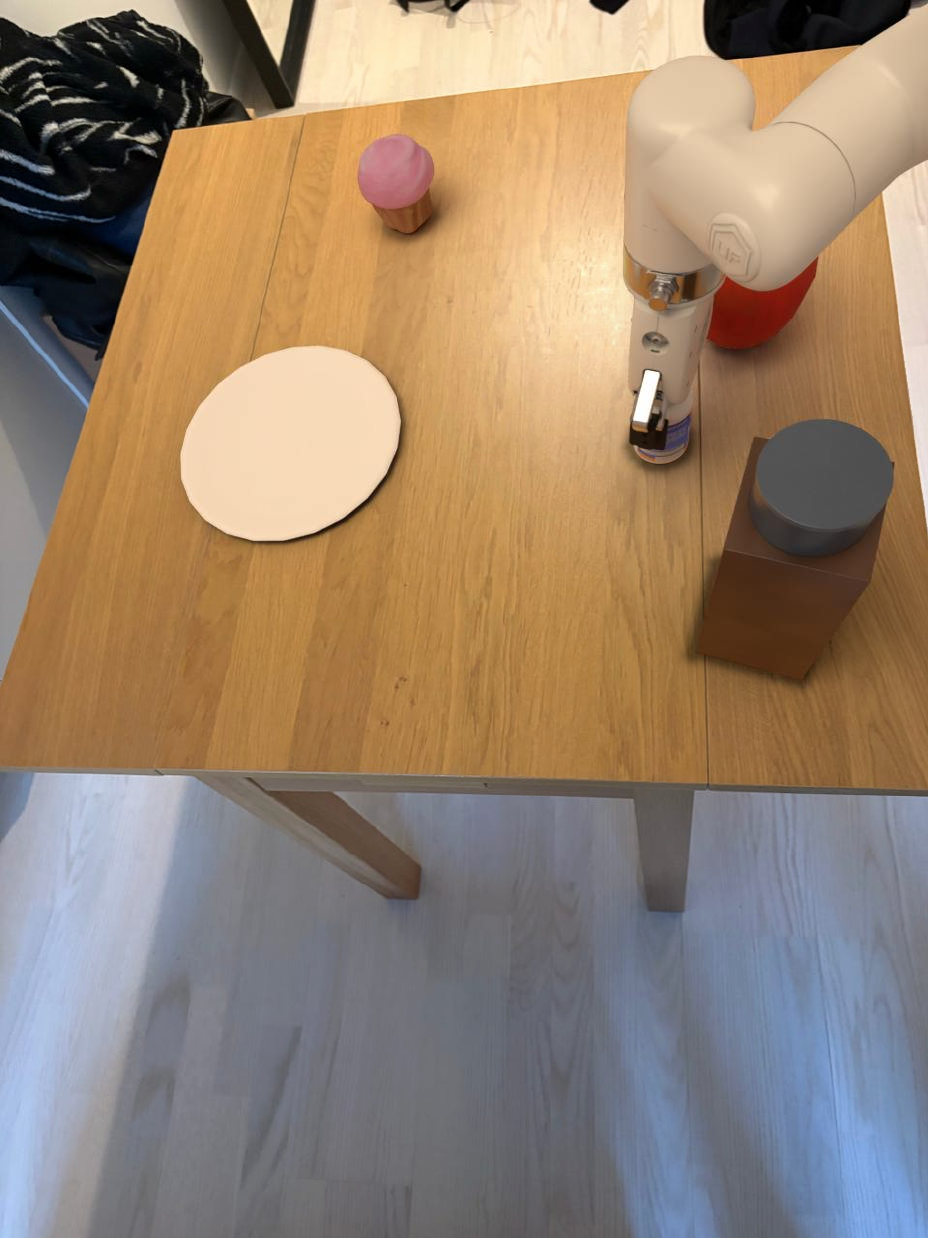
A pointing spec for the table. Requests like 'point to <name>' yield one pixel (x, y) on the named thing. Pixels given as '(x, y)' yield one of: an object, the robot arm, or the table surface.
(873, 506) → the tin
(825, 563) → the stand
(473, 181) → the table surface
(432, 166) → the cupcake
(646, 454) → the pill bottle
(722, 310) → the apple
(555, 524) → the table surface
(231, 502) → the plate
